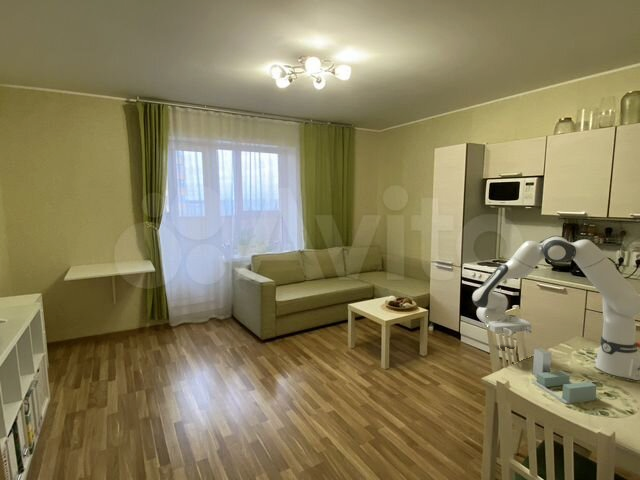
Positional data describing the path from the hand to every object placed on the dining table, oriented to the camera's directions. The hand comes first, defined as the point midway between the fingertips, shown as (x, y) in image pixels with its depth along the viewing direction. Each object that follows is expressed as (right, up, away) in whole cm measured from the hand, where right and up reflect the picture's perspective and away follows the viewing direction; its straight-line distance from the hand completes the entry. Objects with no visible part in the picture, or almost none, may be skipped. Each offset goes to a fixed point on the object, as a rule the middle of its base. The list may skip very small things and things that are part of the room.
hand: (521, 332), depth 161 cm
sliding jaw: (+4, -17, -16) cm, 24 cm away
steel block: (+3, -17, -10) cm, 20 cm away
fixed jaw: (+5, -18, -22) cm, 28 cm away
